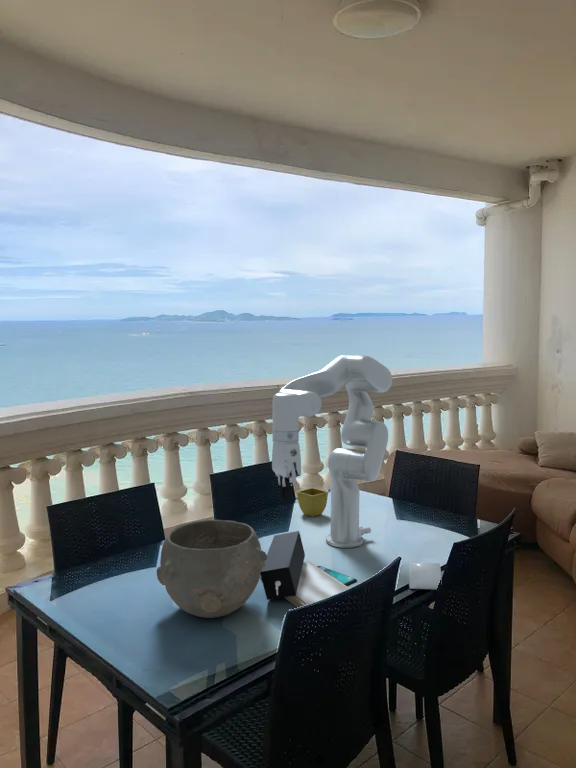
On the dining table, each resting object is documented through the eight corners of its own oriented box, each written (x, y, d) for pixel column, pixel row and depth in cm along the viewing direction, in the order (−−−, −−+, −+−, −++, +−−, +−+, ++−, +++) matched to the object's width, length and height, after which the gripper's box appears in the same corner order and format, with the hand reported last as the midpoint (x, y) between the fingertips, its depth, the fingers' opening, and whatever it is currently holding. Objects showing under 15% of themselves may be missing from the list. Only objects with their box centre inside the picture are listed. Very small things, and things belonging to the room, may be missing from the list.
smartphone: (319, 565, 185) (358, 579, 174) (319, 567, 185) (358, 582, 174) (302, 571, 180) (342, 587, 169) (302, 574, 180) (342, 589, 169)
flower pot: (296, 514, 236) (296, 491, 235) (312, 509, 242) (312, 487, 241) (312, 519, 230) (312, 496, 229) (328, 514, 236) (328, 491, 235)
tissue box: (280, 559, 185) (264, 606, 157) (273, 534, 184) (257, 577, 156) (305, 554, 183) (294, 601, 156) (299, 530, 182) (287, 572, 155)
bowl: (254, 641, 141) (253, 556, 139) (138, 628, 146) (136, 546, 145) (279, 591, 167) (279, 519, 165) (180, 582, 173) (179, 512, 171)
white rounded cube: (436, 562, 173) (408, 561, 174) (441, 564, 166) (411, 563, 167) (437, 588, 172) (408, 587, 172) (441, 591, 165) (411, 589, 166)
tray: (307, 567, 184) (307, 559, 184) (362, 604, 160) (362, 595, 159) (259, 577, 176) (259, 569, 176) (309, 617, 152) (309, 608, 152)
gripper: (310, 439, 171) (309, 503, 173) (284, 431, 184) (284, 491, 186) (286, 441, 168) (285, 507, 169) (262, 433, 181) (262, 494, 183)
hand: (285, 498), depth 178 cm, fingers closed
